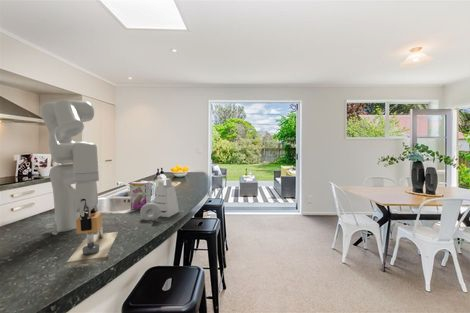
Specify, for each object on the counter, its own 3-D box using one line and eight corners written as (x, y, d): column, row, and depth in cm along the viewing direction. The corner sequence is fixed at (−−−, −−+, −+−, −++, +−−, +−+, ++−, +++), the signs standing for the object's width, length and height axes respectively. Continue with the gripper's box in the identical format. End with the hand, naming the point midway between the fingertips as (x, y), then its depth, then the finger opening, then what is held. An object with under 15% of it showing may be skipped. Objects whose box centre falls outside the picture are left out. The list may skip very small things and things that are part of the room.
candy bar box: (130, 209, 152) (129, 183, 151) (135, 207, 157) (134, 181, 156) (146, 209, 150) (145, 183, 149) (151, 207, 155) (150, 182, 154)
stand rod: (97, 239, 101) (95, 217, 100) (98, 237, 103) (97, 216, 102) (102, 238, 101) (101, 217, 101) (103, 236, 103) (102, 215, 103)
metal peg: (80, 256, 85) (79, 229, 85) (85, 250, 90) (83, 224, 90) (97, 254, 87) (95, 227, 86) (100, 248, 92) (99, 223, 91)
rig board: (66, 266, 82) (66, 262, 82) (88, 238, 106) (88, 235, 106) (106, 260, 85) (106, 256, 85) (118, 235, 109) (118, 231, 109)
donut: (140, 223, 124) (139, 204, 123) (140, 221, 127) (139, 202, 126) (160, 221, 126) (159, 202, 126) (160, 219, 130) (160, 201, 129)
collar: (76, 233, 84) (75, 219, 84) (82, 227, 90) (82, 214, 90) (97, 231, 86) (96, 217, 86) (102, 225, 92) (101, 212, 92)
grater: (152, 215, 137) (151, 180, 136) (164, 210, 147) (162, 177, 146) (168, 217, 134) (167, 180, 133) (179, 211, 144) (177, 178, 142)
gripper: (82, 175, 94) (85, 220, 95) (64, 181, 78) (68, 237, 79) (104, 174, 96) (106, 218, 98) (91, 180, 80) (94, 234, 81)
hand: (89, 226), depth 88 cm, fingers closed on collar, 6 cm apart
